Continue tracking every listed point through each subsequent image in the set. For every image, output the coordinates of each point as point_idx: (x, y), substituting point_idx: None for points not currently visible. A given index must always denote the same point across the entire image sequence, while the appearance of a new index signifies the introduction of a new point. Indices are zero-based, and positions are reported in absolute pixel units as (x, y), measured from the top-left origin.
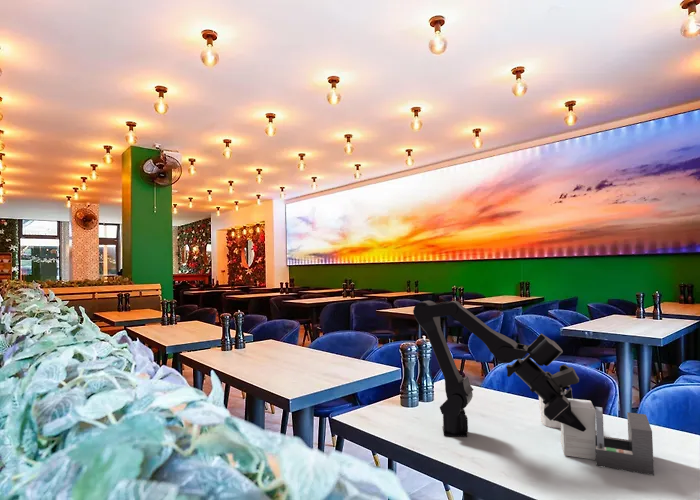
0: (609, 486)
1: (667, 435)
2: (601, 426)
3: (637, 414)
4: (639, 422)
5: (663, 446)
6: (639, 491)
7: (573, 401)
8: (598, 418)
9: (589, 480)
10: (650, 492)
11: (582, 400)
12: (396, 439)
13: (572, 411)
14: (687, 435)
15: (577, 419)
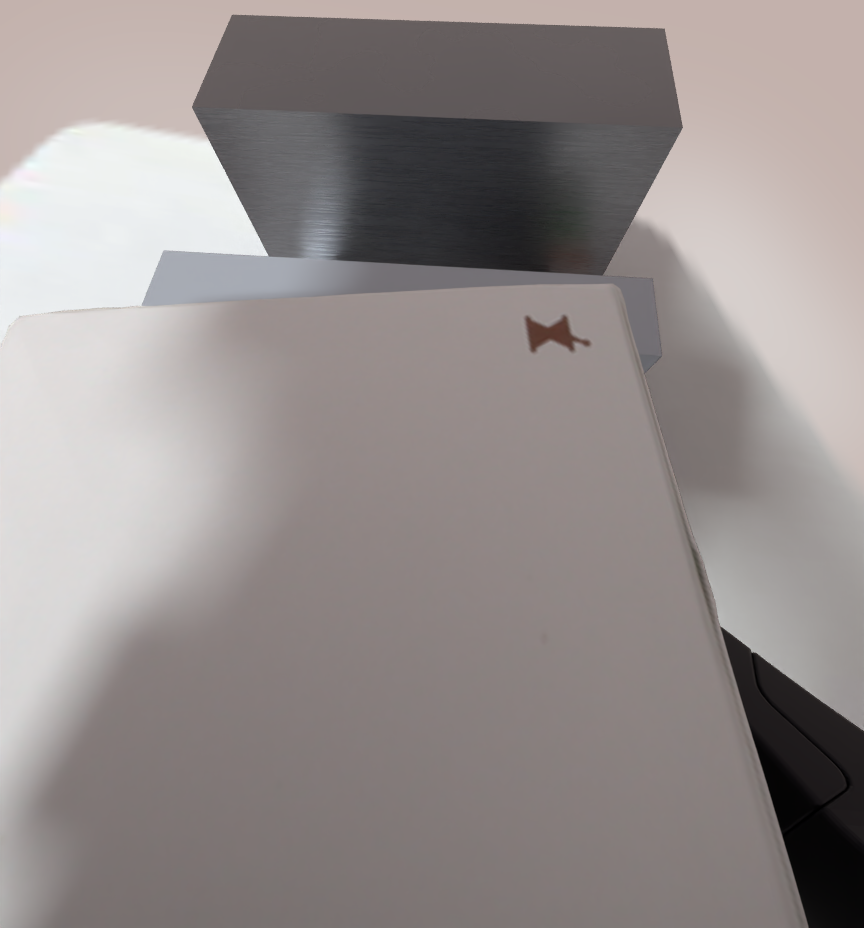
0: (773, 479)
1: (85, 190)
2: None
3: (243, 56)
4: (470, 67)
5: (218, 222)
6: (744, 370)
7: (181, 760)
8: (650, 337)
9: (764, 565)
10: (727, 336)
11: (32, 471)
12: None
13: (827, 792)
14: (80, 135)
15: (738, 641)
